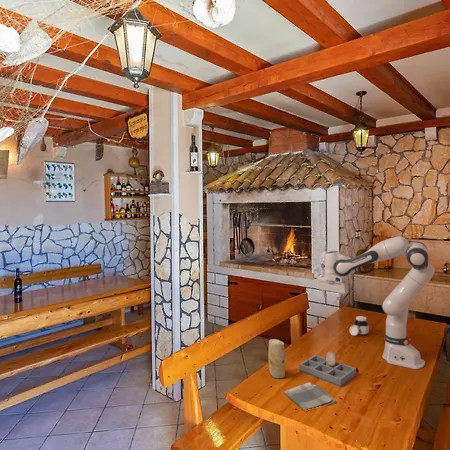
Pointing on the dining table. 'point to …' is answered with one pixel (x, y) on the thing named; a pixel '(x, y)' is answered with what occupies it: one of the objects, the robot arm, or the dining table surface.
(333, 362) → the egg
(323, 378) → the gray compartment tray
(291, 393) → the dish towel
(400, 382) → the dining table surface
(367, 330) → the spread jar
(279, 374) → the food model
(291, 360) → the dining table surface
